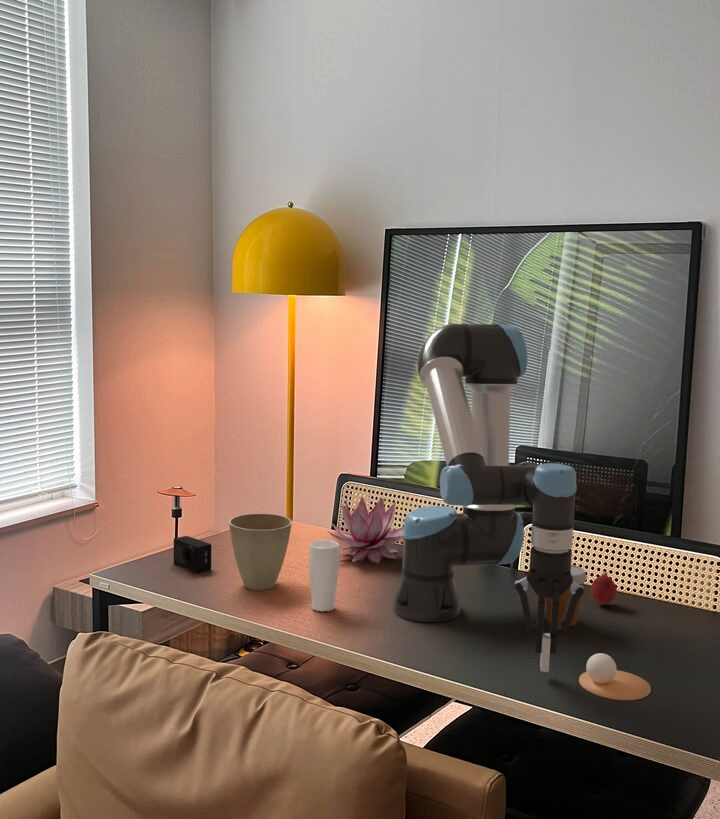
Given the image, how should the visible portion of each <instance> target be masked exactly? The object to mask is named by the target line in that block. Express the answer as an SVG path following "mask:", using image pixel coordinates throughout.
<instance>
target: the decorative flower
mask: <svg viewBox="0 0 720 819" xmlns="http://www.w3.org/2000/svg"><path fill="white" fill-rule="evenodd" d="M396 504H397V503H396V502H393V504H392V505H391V506H390V507H389V508H388V509H387V511H386V506H385V501H384V498H380V499H379V500H378V502H376V504H375V505H374V506H373V508H372V509H371V510H370V512H369V510H368V508H367V504H366V502H365V499H364V497H363V496H362V497H360V499H359V502H358V504H357V507H356V508H354V509H353V511H352V513H351V510H350V508H349V505H348V501H347V500H345V506H344V504H341V508H342V509H341V510H342V511H341V512H342V518H343V521H344V524H345V526H346V529H347V530H348V532H349V533H350V534H348V533H347V532H345V531H343V530H342V529H340V528H339V527H337V526H336V525H335V524H334V523H333V522H330V523H331V525H332V527H333V528H334V530H336V532H337V533H338V534H340V535H342V536H343V537H341V536H339V535H336V534H334V533H332V532H330V531H328V530H327V533H328V534H329V535H330V536H331V537H333V538H335V539H336V540H338V541H340V542H344V543H347V544H348V545H349V546H350V547H346V548H344V547H343V548H341V547H339V550H343V551H346V552H343V553H339V557H343V556H347V555H349V554H352V553H354V554H353V557H352V558H353V559H352V561H351V562H357V561H360V562H359V563H361V562H362V561H363V560H364V559H366V557H367V559H368V560H369V561H370V563H372V564H373V563H377V564H379V563H380V561H383V559H382V558H383V557H385V558H387V559H398V557H397V556H396V555H395V554H394V553H398V549H397V550H396V549H392V548H390V547H388V546H391V545H395V544H396V543H398V542H400V541H403V535H402V533H403V529H404V526H402V527H399V528H395V529H393V530H391V529H392V526H393V523H394V518H395V514H396V506H397V505H396ZM347 550H348V551H347Z"/></svg>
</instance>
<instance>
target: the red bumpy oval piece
mask: <svg viewBox="0 0 720 819" xmlns="http://www.w3.org/2000/svg"><path fill="white" fill-rule="evenodd" d="M590 593H591V596H592V598H593V599H594V600H595V601H596V603H598V604H599V605H600V606H606V605H607V604H610V603H611V602H612V601H613V600H614V599H615V597H616V596H617V593H618V592H617V586H616V583H615V581H614V580H613V579H612V578H611V577H610V576H609V575H608V572H607V571H603V572H602V573H601V575H600V576H598V577H596V578H595V579H594V580H593V581H592V583H591V585H590Z"/></svg>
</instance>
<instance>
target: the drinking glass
mask: <svg viewBox="0 0 720 819" xmlns="http://www.w3.org/2000/svg"><path fill="white" fill-rule="evenodd" d="M339 548H340V543H338V541H333V540H330V539H329V540H327V539H322V540H321V539H320V540H314V541H311V542H310V543H309V550H308V551H309V552H308V554H309V555H308V557H309V558H308V562H309V563H308V565H309V577H310V578H309V579H310V582H309V583H310V596H311V598H310V599H311V602H310V603H311V608H312V609H313V611H316V612H319V611H321V612H322V613H324V612H323V611H328V612H331V611H333V610H334V609H335V608H336V594H337V585H338V577H339V569H340V568H339V567H340V556H339V555H340V549H339ZM330 610H331V611H330Z"/></svg>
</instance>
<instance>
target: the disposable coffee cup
mask: <svg viewBox="0 0 720 819" xmlns="http://www.w3.org/2000/svg"><path fill="white" fill-rule="evenodd" d="M571 575H572V577H573V581H575V582H576V583H577V584H581V585H583V587H584V585H585V583H586V580H587V579H588V576H587V574H586V570H585V569H584V568H583V567H581V566H578V565H575V564H571ZM570 588H571V586H570V587H569V588H568V589H567V590H566V591H565V592H564V593H563V595H562V596H560V597H559V611H558V627H560V626H561V623H562V619H563V616H564V613H565V610H566V607H567V604H568V601H569V598H570V595H571V592H570ZM582 596H583V595H582ZM582 596H581V597H580V598H579V600H578V602H577V605H576V608H575V611H574V614H573V617H572V620H571V623H570V627H574V626H576V625H577V622H578V617H579V611H580V605H581V600H582ZM551 603H552V598H551V597H545V606H546V618H547V619H546V620H547V622H548V623H549V624H550V621H551ZM575 624H576V625H575ZM573 625H574V626H573Z"/></svg>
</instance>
